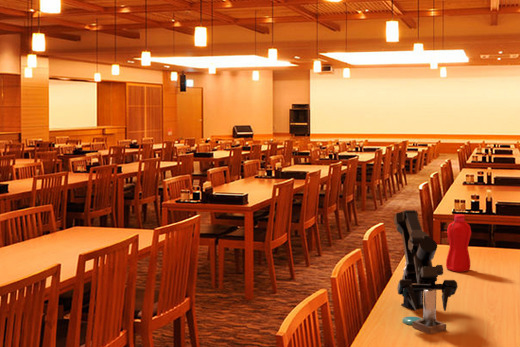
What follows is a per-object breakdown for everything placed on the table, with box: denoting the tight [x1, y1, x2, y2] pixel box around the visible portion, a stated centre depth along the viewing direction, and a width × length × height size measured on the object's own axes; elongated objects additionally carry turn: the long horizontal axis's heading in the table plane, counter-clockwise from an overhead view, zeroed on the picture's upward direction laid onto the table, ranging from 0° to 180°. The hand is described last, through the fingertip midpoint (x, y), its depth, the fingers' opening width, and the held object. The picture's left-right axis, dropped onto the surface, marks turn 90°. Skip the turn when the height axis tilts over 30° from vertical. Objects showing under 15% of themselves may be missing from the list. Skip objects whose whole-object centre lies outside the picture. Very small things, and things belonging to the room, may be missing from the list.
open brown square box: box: [412, 318, 447, 335], centre depth 211 cm, size 8×8×2 cm
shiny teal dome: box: [402, 316, 423, 326], centre depth 218 cm, size 7×7×1 cm
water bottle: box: [445, 213, 472, 273], centre depth 288 cm, size 9×11×25 cm
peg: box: [422, 288, 437, 327], centre depth 210 cm, size 4×4×13 cm
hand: (430, 310), depth 209 cm, fingers open, 9 cm apart
